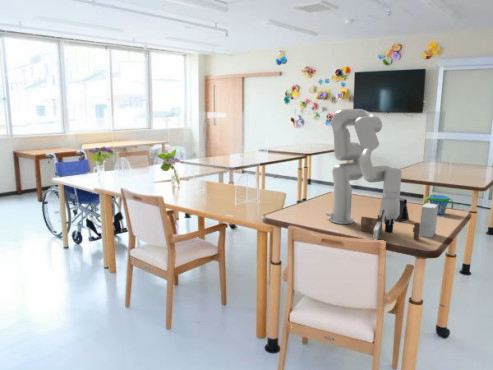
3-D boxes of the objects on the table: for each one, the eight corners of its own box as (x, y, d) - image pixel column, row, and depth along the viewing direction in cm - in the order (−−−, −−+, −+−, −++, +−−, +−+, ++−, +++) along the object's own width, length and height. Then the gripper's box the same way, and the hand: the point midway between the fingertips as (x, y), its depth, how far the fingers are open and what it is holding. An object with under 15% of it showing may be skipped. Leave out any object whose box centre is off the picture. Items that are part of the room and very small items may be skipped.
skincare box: (423, 231, 207) (425, 202, 204) (436, 233, 204) (438, 204, 201) (418, 235, 200) (421, 205, 198) (432, 238, 197) (434, 207, 194)
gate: (376, 233, 204) (377, 221, 203) (380, 233, 203) (381, 221, 202) (372, 241, 191) (373, 229, 190) (376, 242, 190) (377, 229, 189)
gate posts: (360, 230, 209) (360, 213, 207) (362, 229, 212) (363, 211, 210) (417, 240, 193) (419, 221, 192) (419, 238, 196) (420, 220, 195)
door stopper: (398, 222, 224) (399, 200, 222) (389, 219, 229) (390, 198, 227) (409, 219, 229) (410, 198, 227) (399, 217, 234) (401, 196, 232)
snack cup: (452, 212, 243) (453, 195, 241) (453, 217, 234) (454, 199, 232) (423, 210, 249) (424, 193, 248) (423, 214, 240) (424, 197, 238)
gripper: (393, 191, 201) (391, 227, 205) (374, 195, 192) (372, 233, 196) (407, 194, 195) (404, 231, 199) (388, 198, 186) (386, 237, 190)
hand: (388, 232), depth 197 cm, fingers closed
